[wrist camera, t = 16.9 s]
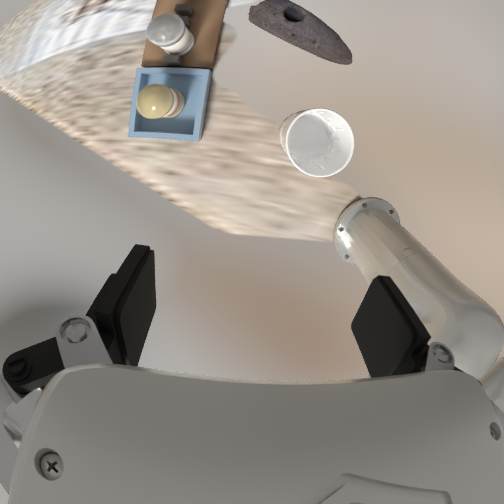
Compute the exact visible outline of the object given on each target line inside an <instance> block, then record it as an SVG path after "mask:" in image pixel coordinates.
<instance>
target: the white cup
mask: <svg viewBox="0 0 504 504" xmlns="http://www.w3.org/2000/svg"><path fill="white" fill-rule="evenodd" d="M279 139H280V142H281V144H282V147H283V149H284V151H285V152H286V154H287V155H288V157H289V158H290V160H291V161H292V163H293V164H294V165H295V166H296V167H297V168H298V169H299V170H300V171H302V172H303V173H305V174H308V175H310V176H314V177H327V176H331V175H333V174H336V173H338V172H339V171H341V170H342V169H343V168H344V167H345V166H346V165H347V164H348V162H349V161H350V158H351V157H352V154H353V150H354V136H353V133H352V130H351V128H350V126H349V124H348V123H347V121H346V120H345V119H344V118H343V117H342V116H341V115H339V114H337V113H336V112H334V111H332V110H328V109H323V108H314V109H309V110H305V111H300V112H297V113H295V114H292V115H290V116H289V117H288V118H286V119H285V120H284V121H283V123H282V125H281V127H280V129H279Z"/></svg>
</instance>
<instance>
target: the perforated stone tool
mask: <svg viewBox="0 0 504 504" xmlns="http://www.w3.org/2000/svg"><path fill="white" fill-rule="evenodd" d="M249 20H250V22H252V23H253V24H255V25H257V26H258V27H260V28H261V29H263V30H265V31H267V32H269V33H271V34H272V35H275V36H277V37H278V38H280V39H282V40H284V41H286V42H288V43H290V44H292V45H294V46H297V47H299V48H301V49H303V50H306V51H308V52H310V53H312V54H314V55H316V56H318V57H321V58H323V59H326V60H329V61H331V62H335V63H338V64H347V65H348V64H351V63H352V54H351V51H350V50H349V49H348V47H347V45H346V44H345V43H344V42H343V41H342V39H341V38H340V36H339V35H338V34H337V33H336V32H335V31H334V30H333V29H331V28H330V27H329V26H327V25H326V24H325V23H324V22H323V21H322V20H320V19H319V18H318V17H316V16H315V15H313V14H312V13H310V12H309V11H307V10H306V9H304V8H303V7H301V6H299V5H297V4H295V3H293V2H291V1H289V0H265V1H263V2H260V3H259V4H258V5H256V6H251V8H250V12H249Z"/></svg>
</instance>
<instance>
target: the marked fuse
mask: <svg viewBox="0 0 504 504" xmlns="http://www.w3.org/2000/svg"><path fill="white" fill-rule="evenodd" d="M136 106H137V110H138V112H139V113H140V114H141V115H142V116H144V117H146V118H150V119H153V118H162V117H166V118H168V117H175V116H177V115H179V114H180V113H181V112H182V111H183V109H184V107H185V97H184V95H183V94H182V93H181V92H180V91H178V90H176V89H172V88H169V87H167V86H164V85H161V84H156V83H155V84H150V85H147V86H146V87H144V88H143V89H142V90H141V91H140V92H139V94H138V96H137V100H136Z"/></svg>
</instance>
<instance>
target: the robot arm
mask: <svg viewBox="0 0 504 504" xmlns="http://www.w3.org/2000/svg"><path fill="white" fill-rule="evenodd" d="M363 203H364V204H363ZM362 204H363V205H362ZM340 227H341V228H340ZM334 243H335V247H336V249H337V251H338V253H339V254H340V256H341V257H342V258H343V259H344V260H345V261H346V262H348V263H350V264H353V265H357V266H358V267H359V269H360V270H361V272H362V273H363V275H364V276H365V278H366V280H367V281H368V283H369V284H370V286H369V289H368V291H367V293H366V295H365V297H364V299H363V301H362V303H361V305H360V307H359V309H358V312H357V313H356V315H355V317H354V319H353V321H352V325H351V329H352V331H353V334H354V336H355V339H356V341H357V344H358V346H359V349H360V351H361V353H362V356H363V358H364V361H365V364H366V366H367V368H368V371H369V375H368V377H367V378H364V379H351V380H330V381H329V380H328V381H270V380H249V379H248V380H247V379H234V378H222V377H212V376H203V375H194V374H186V373H178V372H170V371H164V370H158V369H151V368H144V367H137V366H138V362H139V359H140V356H141V352H142V349H143V346H144V343H145V340H146V337H147V334H148V331H149V328H150V325H151V322H152V319H153V316H154V313H155V309H156V291H155V263H154V262H155V261H154V250H150V247H149V246H144V245H138V244H136V245H135V246H134V247H133V249H132V250H131V251H130V253H129V255H128V256H127V257H126V259H125V260H124V262H123V264H122V265H121V267H120V268H119V270H118V272H117V273H116V274H114V273H113V274H111V275H110V276H109V278H108V279H107V281H106V282H105V284H104V286H103V287H102V289H101V290H100V292H99V294H98V295H97V297H96V299H95V300H94V302H93V304H92V305H91V307H90V309H89V310H88V312H87V314H86V315H82V314H75V315H70V316H67V317H65V318H64V319H62V320H61V321H60V322H59V324H58V325H57V327H56V330H55V336H56V337H54V338H51V339H49V340H46V341H43V342H41V343H38V344H36V345H33V346H30V347H28V348H25V349H23V350H20V351H17V352H15V353H13V354H11V355H10V356H9V357H8V358H7V359H6V361H5V362H4V365H3V373H1V374H0V483H1V484H2V486H3V487H4V488H5V490H6V491H7V492H8V494H9V501H8V504H504V357H501V358H498V359H497V357H498V356H499V354H500V352H501V350H502V347H503V344H504V325H503V322H502V320H501V318H500V316H499V315H498V314H497V312H496V311H495V310H494V309H493V308H492V307H491V306H490V305H489V304H488V303H487V302H486V301H484V300H483V299H482V298H481V297H480V296H478V295H477V294H475V293H474V292H473V291H472V290H471V289H469V288H468V287H467V286H465V285H464V284H463V283H462V282H461V281H460V280H458V279H457V278H456V277H455V276H454V275H453V274H452V273H451V272H450V271H449V270H448V269H447V268H446V267H445V266H443V264H442V263H441V262H440V261H439V260H438V259H437V258H436V257H435V256H433V255H432V254H431V253H430V252H429V251H428V250H427V249H426V248H425V247H424V246H423V245H422V244H421V243H420V242H419V241H418V240H417V239H415V238H414V237H413V236H412V235H411V234H410V233H409V232H408V231H407V230H406V229H405V228H403V227H402V226H401V225H400V220H399V217H398V214H397V212H396V210H395V209H394V208H393V207H392V205H390V204H389V203H388V202H386V201H384V200H383V199H379V198H374V197H368V198H363V199H360V200H358V201H356V202H354V203H353V204H351V205H350V206H349V207H347V208H346V209H345V210H344V212H343V213H342V214H341V215H340V217H339V219H338V221H337V223H336V226H335V230H334Z"/></svg>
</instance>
